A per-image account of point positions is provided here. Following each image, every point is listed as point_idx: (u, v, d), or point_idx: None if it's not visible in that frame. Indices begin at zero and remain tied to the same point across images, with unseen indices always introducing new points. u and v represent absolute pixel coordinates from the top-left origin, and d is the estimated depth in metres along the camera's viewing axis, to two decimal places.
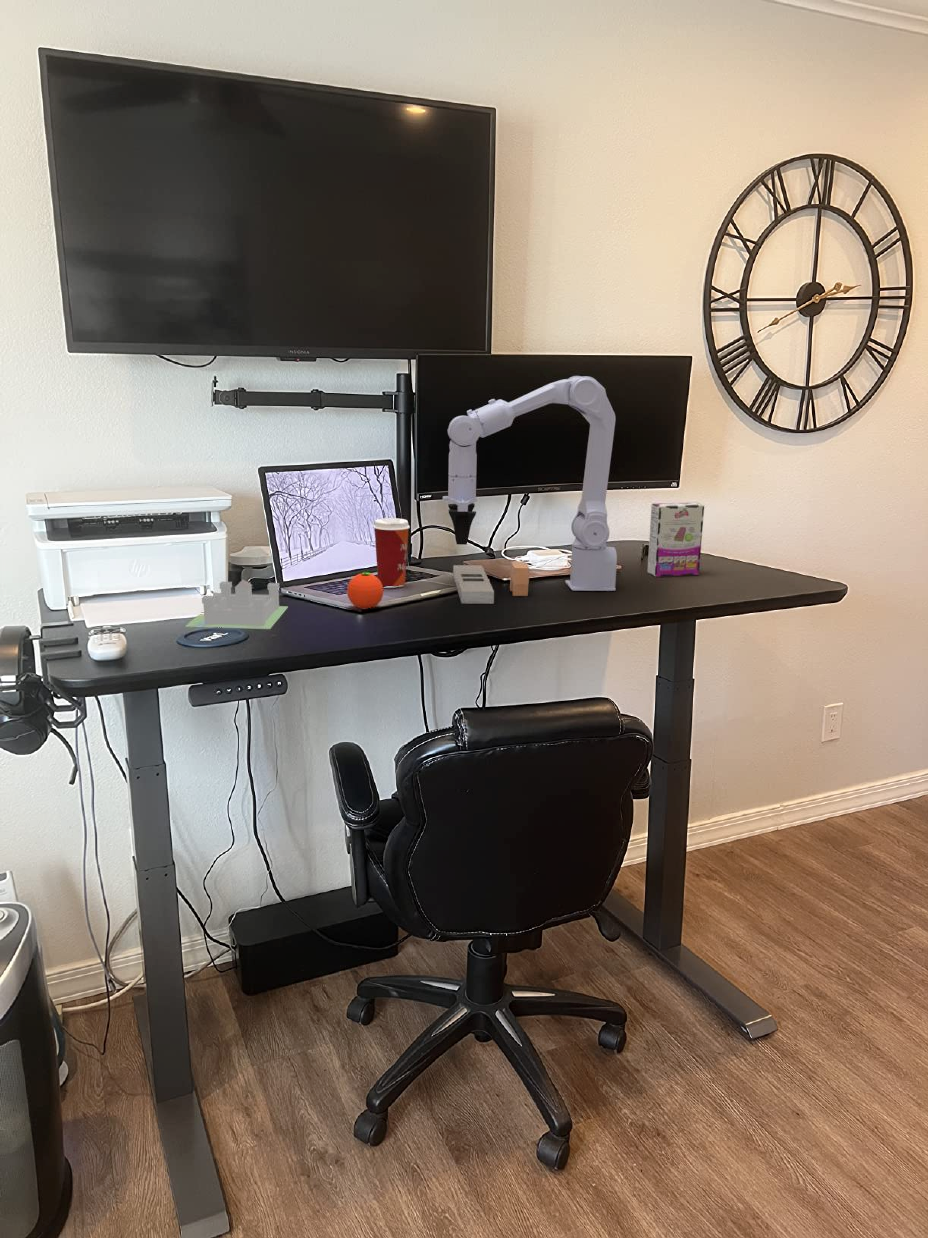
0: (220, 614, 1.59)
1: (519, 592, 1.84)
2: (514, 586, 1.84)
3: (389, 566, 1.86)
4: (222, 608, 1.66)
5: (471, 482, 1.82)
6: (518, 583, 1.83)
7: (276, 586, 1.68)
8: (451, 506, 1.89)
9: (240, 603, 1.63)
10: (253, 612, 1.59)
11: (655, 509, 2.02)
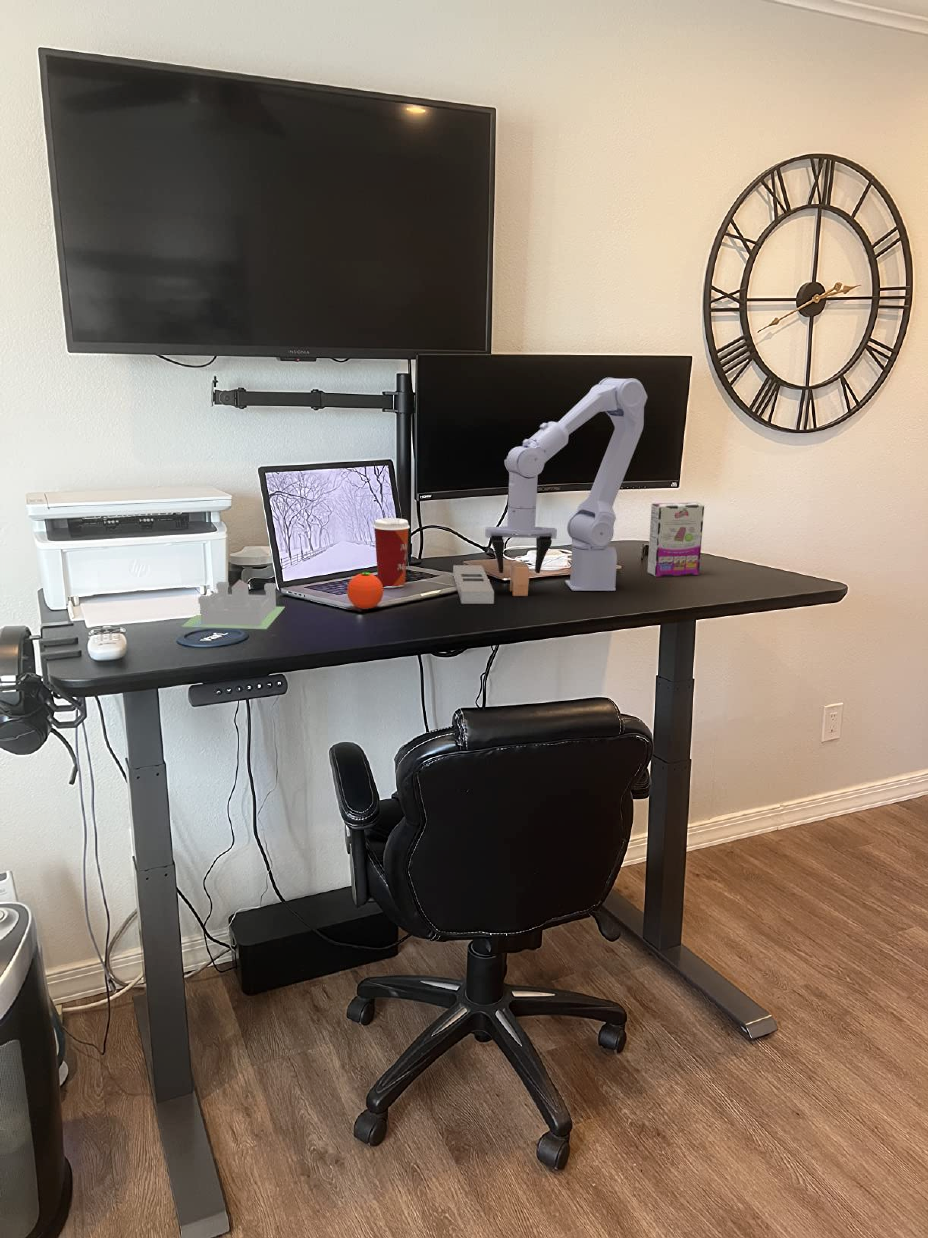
0: (217, 614, 1.59)
1: (519, 591, 1.84)
2: (514, 586, 1.84)
3: (389, 566, 1.86)
4: (219, 608, 1.66)
5: (512, 513, 1.80)
6: (518, 583, 1.83)
7: (273, 586, 1.68)
8: (537, 538, 1.86)
9: (237, 603, 1.63)
10: (250, 612, 1.58)
11: (655, 509, 2.02)
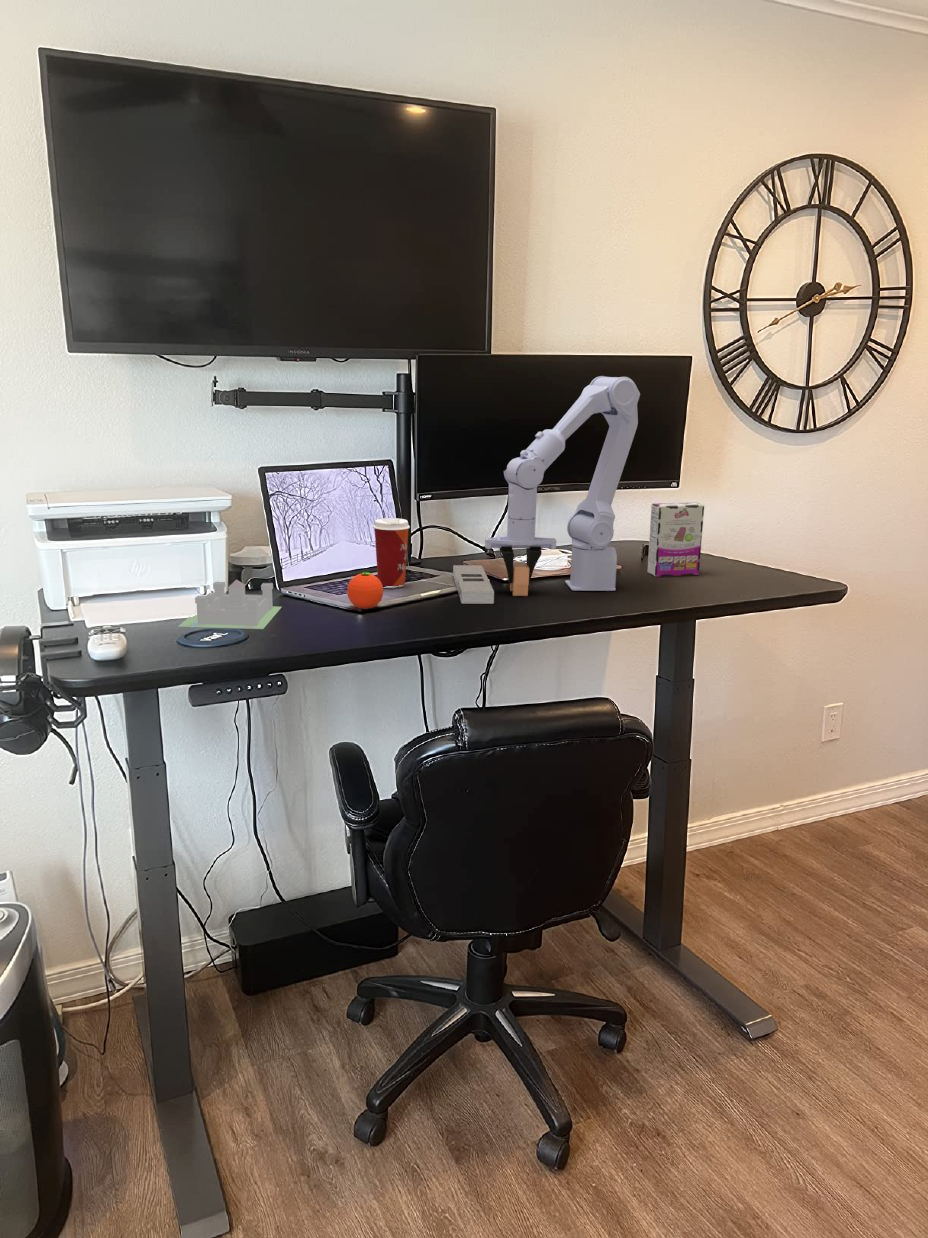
0: (213, 614, 1.59)
1: (519, 591, 1.84)
2: (514, 586, 1.84)
3: (389, 566, 1.86)
4: (216, 608, 1.66)
5: (512, 524, 1.81)
6: (518, 583, 1.83)
7: (270, 586, 1.68)
8: (527, 549, 1.86)
9: (233, 603, 1.63)
10: (247, 612, 1.58)
11: (655, 509, 2.02)
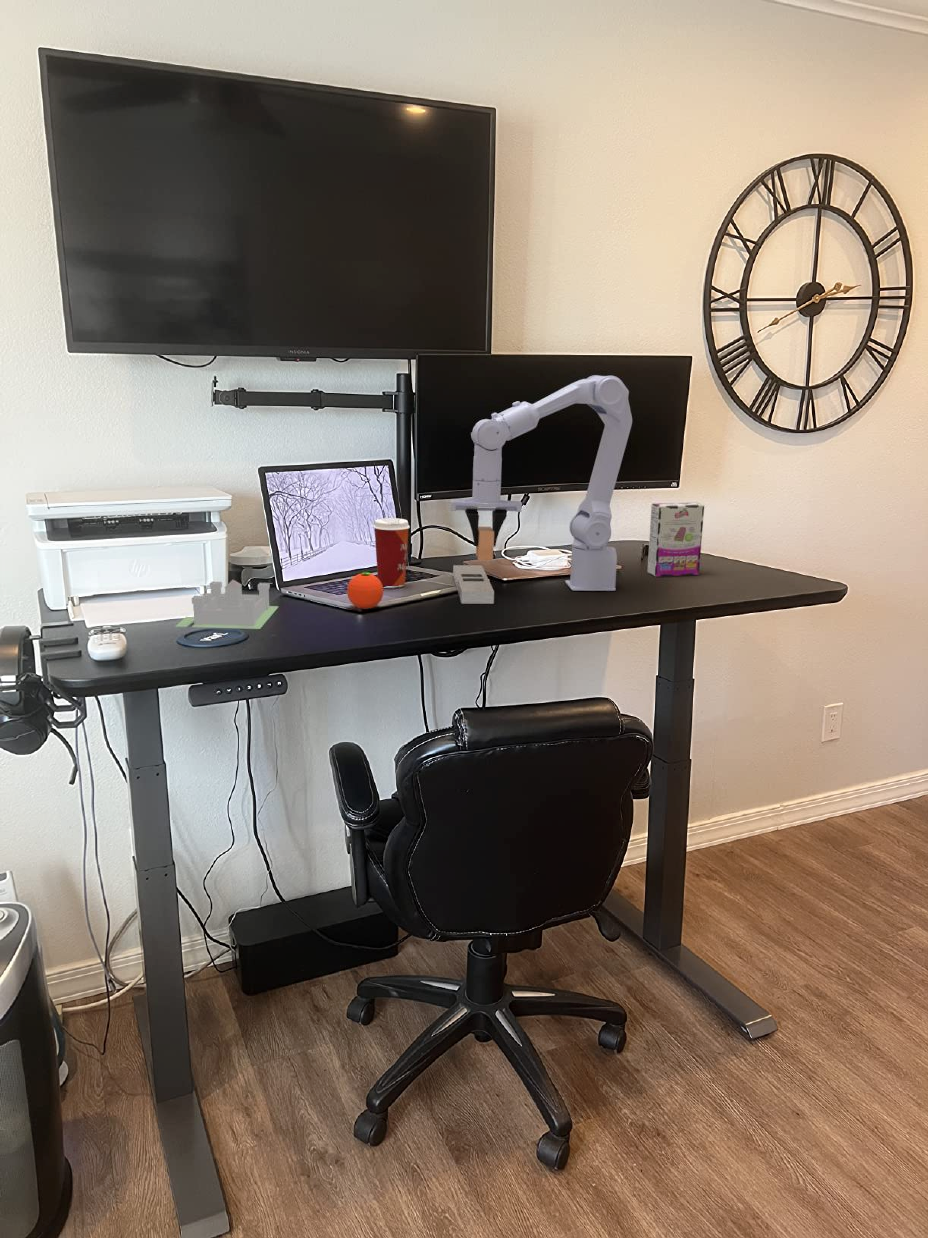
0: (210, 614, 1.59)
1: (484, 556, 1.84)
2: (479, 550, 1.83)
3: (389, 566, 1.86)
4: (212, 608, 1.66)
5: (477, 486, 1.80)
6: (483, 547, 1.83)
7: (266, 586, 1.68)
8: (492, 512, 1.86)
9: (230, 603, 1.63)
10: (243, 612, 1.58)
11: (655, 509, 2.02)
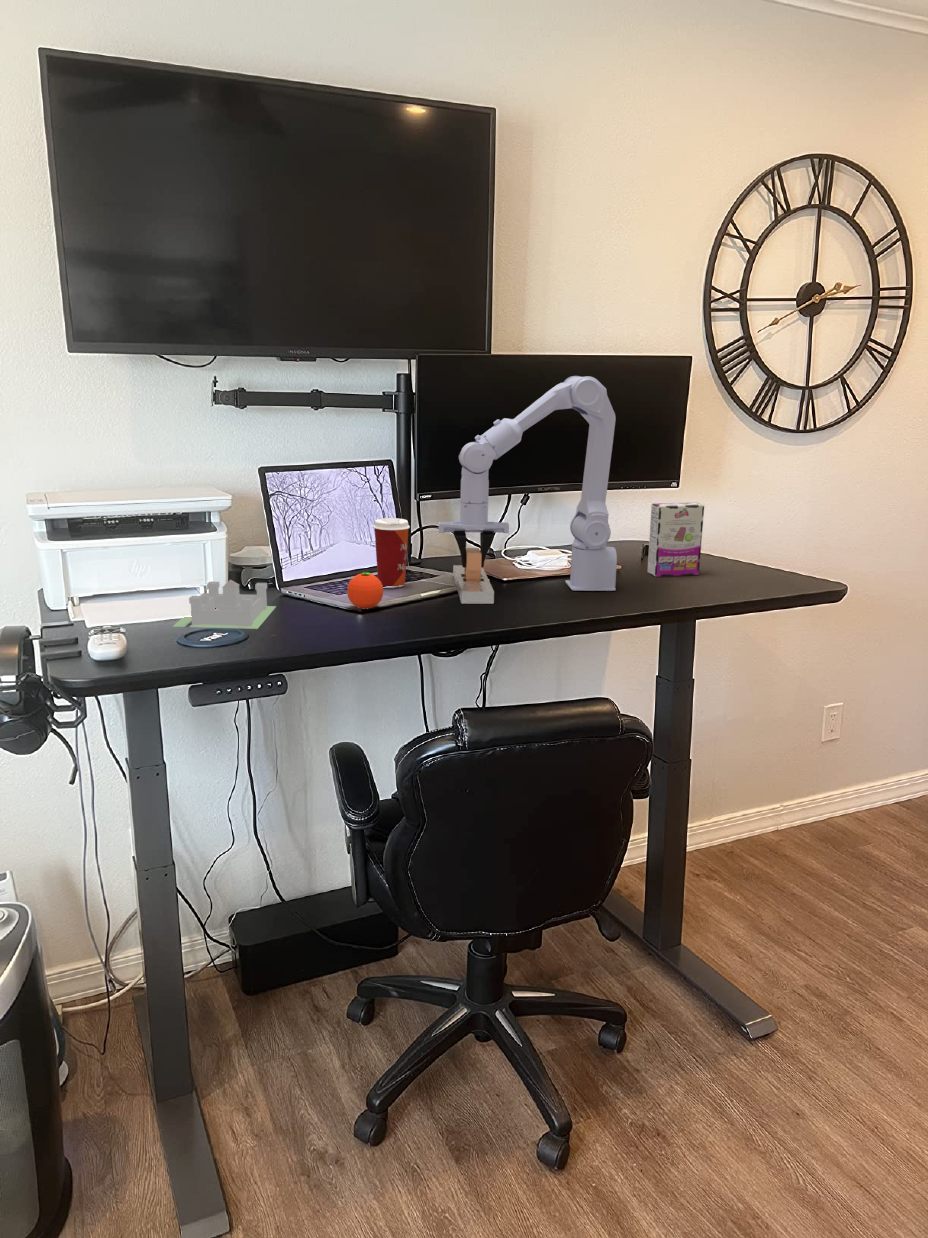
0: (207, 614, 1.59)
1: (472, 577, 1.86)
2: (467, 572, 1.85)
3: (389, 566, 1.86)
4: (210, 608, 1.66)
5: (464, 508, 1.82)
6: (471, 569, 1.85)
7: (264, 586, 1.68)
8: (480, 533, 1.88)
9: (228, 603, 1.63)
10: (241, 612, 1.58)
11: (655, 509, 2.02)
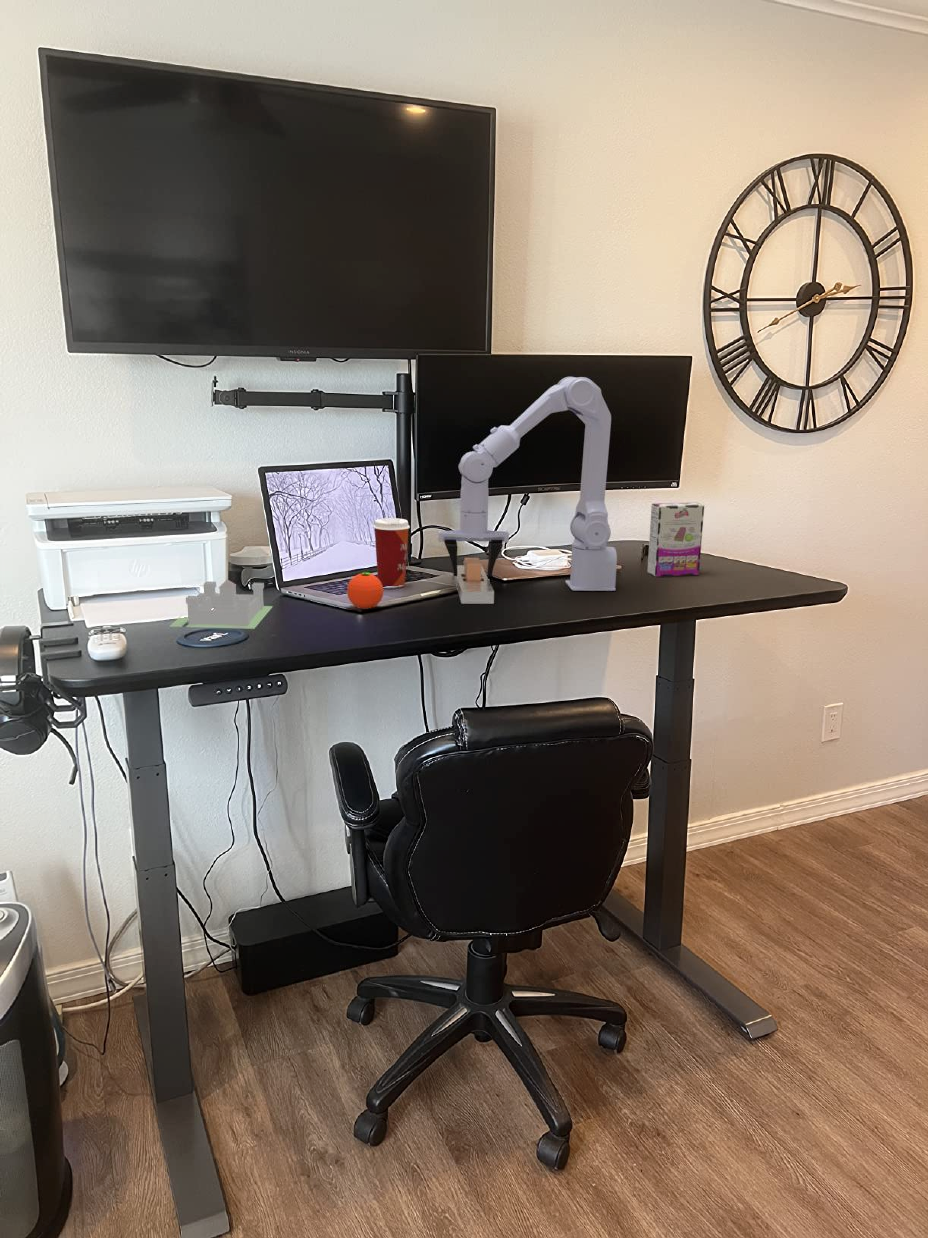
0: (204, 614, 1.59)
1: None
2: None
3: (389, 566, 1.86)
4: (206, 608, 1.66)
5: (464, 517, 1.83)
6: (470, 579, 1.85)
7: (261, 585, 1.68)
8: None
9: (224, 603, 1.63)
10: (238, 612, 1.58)
11: (655, 509, 2.02)
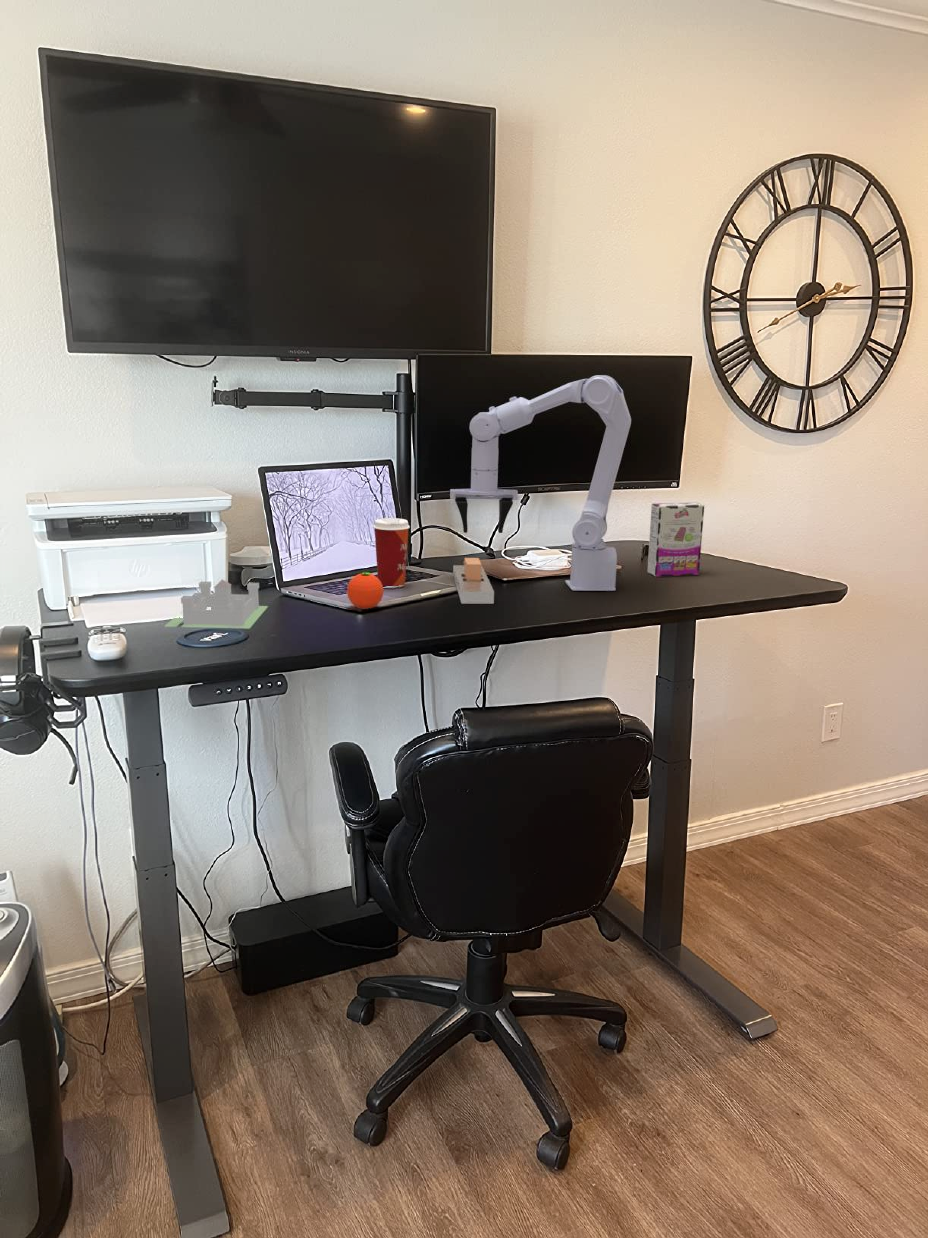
0: (199, 614, 1.59)
1: None
2: None
3: (389, 566, 1.86)
4: (202, 608, 1.66)
5: (475, 475, 1.91)
6: (470, 579, 1.85)
7: (256, 585, 1.68)
8: (499, 500, 1.96)
9: (219, 603, 1.63)
10: (233, 612, 1.58)
11: (655, 509, 2.02)
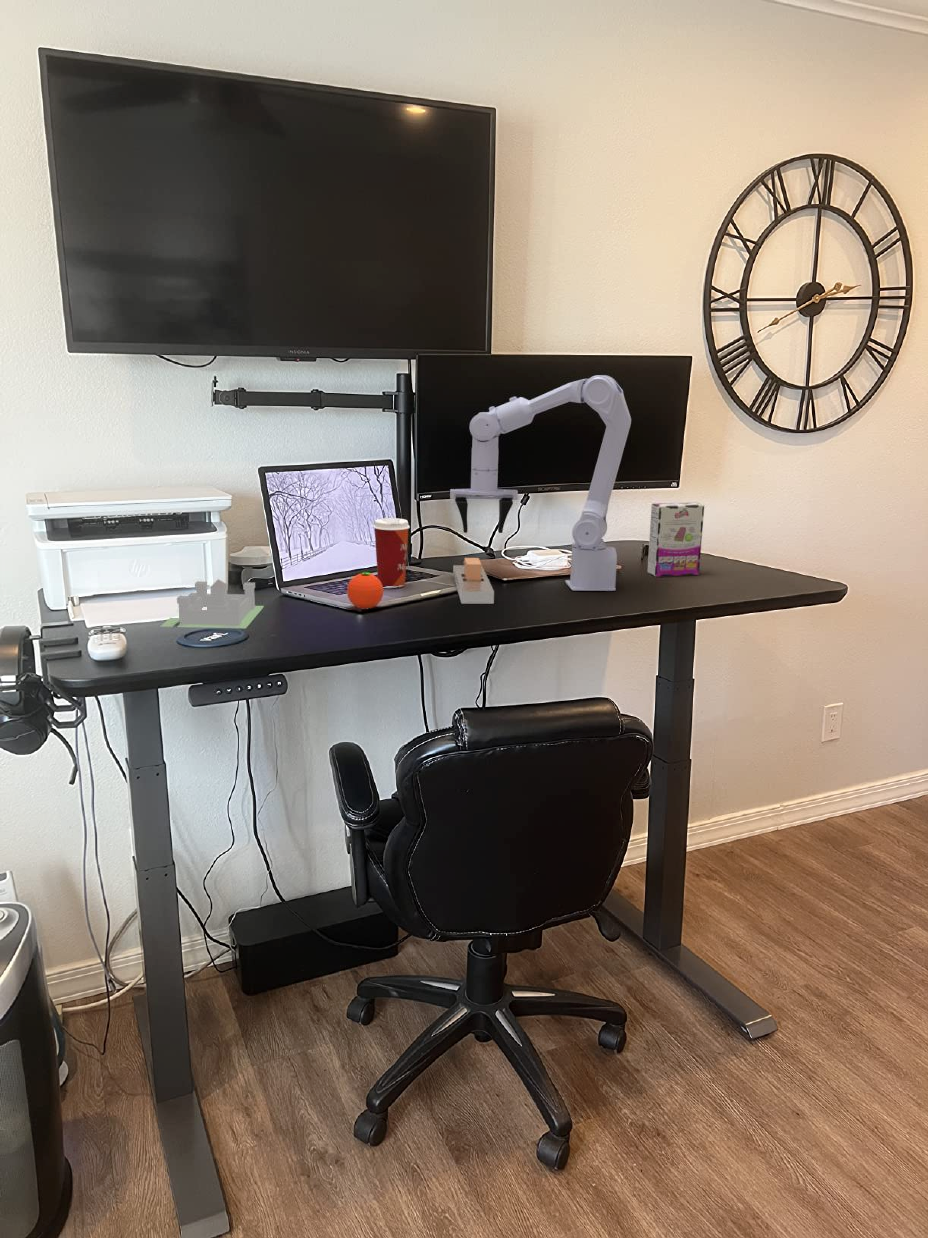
0: (195, 614, 1.59)
1: None
2: None
3: (389, 566, 1.86)
4: (198, 608, 1.66)
5: (475, 475, 1.91)
6: (470, 579, 1.85)
7: (252, 585, 1.68)
8: (499, 500, 1.96)
9: (215, 603, 1.63)
10: (229, 612, 1.58)
11: (655, 509, 2.02)
